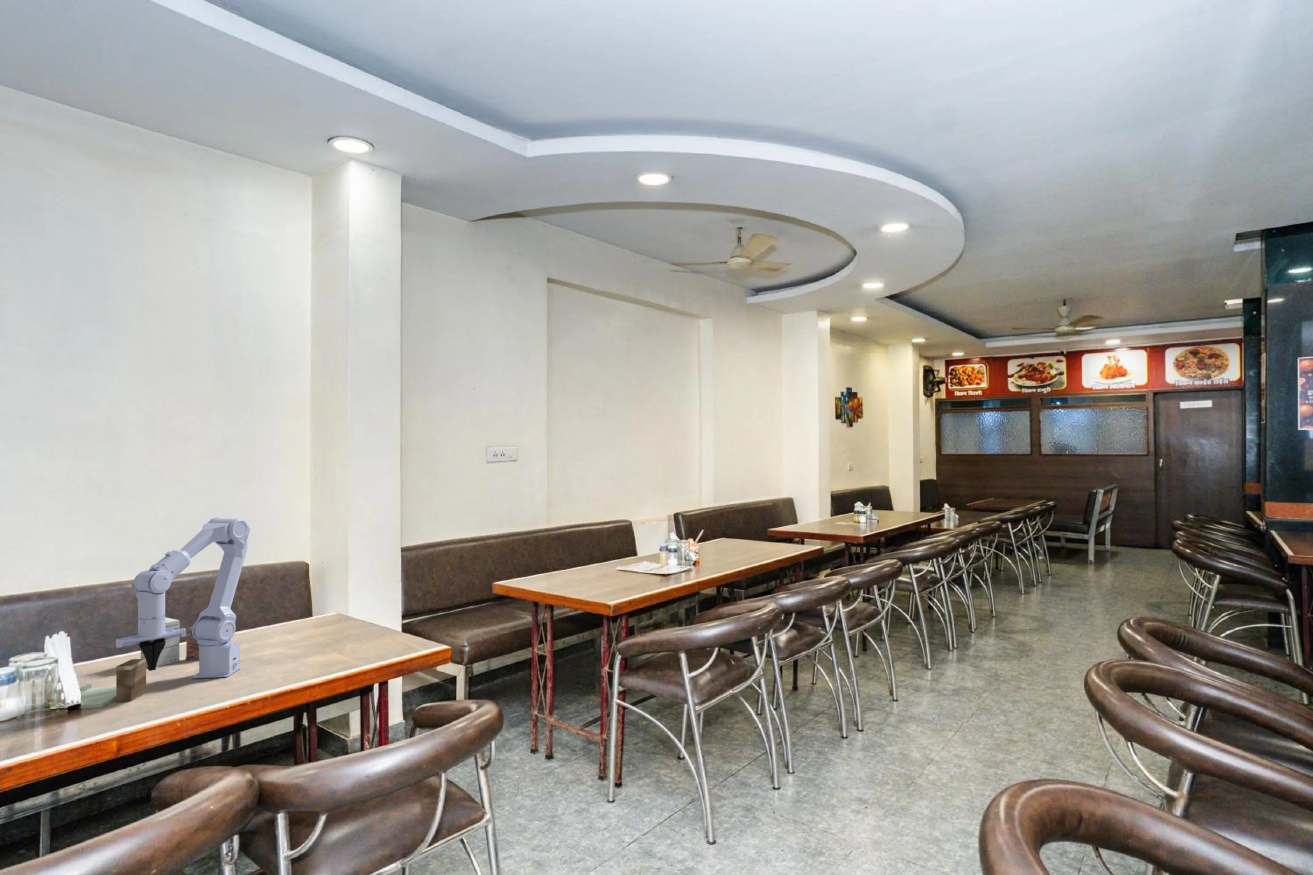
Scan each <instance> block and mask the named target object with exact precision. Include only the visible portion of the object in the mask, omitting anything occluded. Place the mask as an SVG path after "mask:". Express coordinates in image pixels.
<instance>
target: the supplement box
mask: <svg viewBox="0 0 1313 875" xmlns="http://www.w3.org/2000/svg"><path fill="white" fill-rule="evenodd" d="M172 629H180V620H179V619H175V618H170V617H165V630H172ZM165 641H166V644H165V646H164V648H163V650H162V652H161V654H160V656H159V659H158V662H157V665H156V668H158V667H163V666H166V665H170V664H174V663H176V662H180V637H176V638H170V639H165ZM140 659H145V656H144V654H143V652H142V650H141V649H140ZM146 666H147V662H146Z"/></svg>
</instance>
